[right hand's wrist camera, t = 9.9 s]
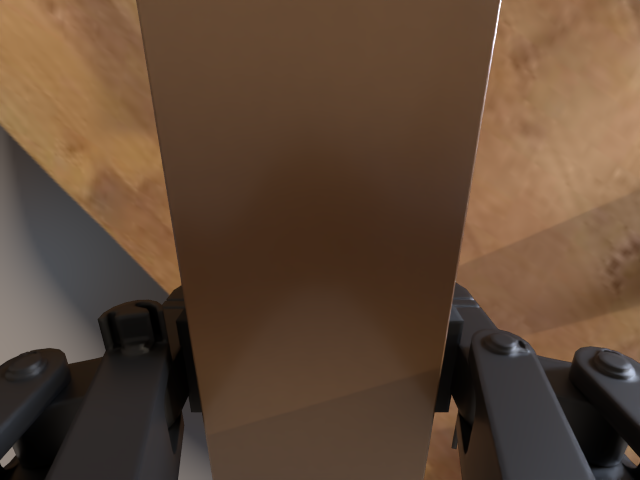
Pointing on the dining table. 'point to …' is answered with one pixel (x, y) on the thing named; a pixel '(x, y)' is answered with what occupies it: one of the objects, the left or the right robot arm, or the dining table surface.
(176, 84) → the bar
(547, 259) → the dining table surface
